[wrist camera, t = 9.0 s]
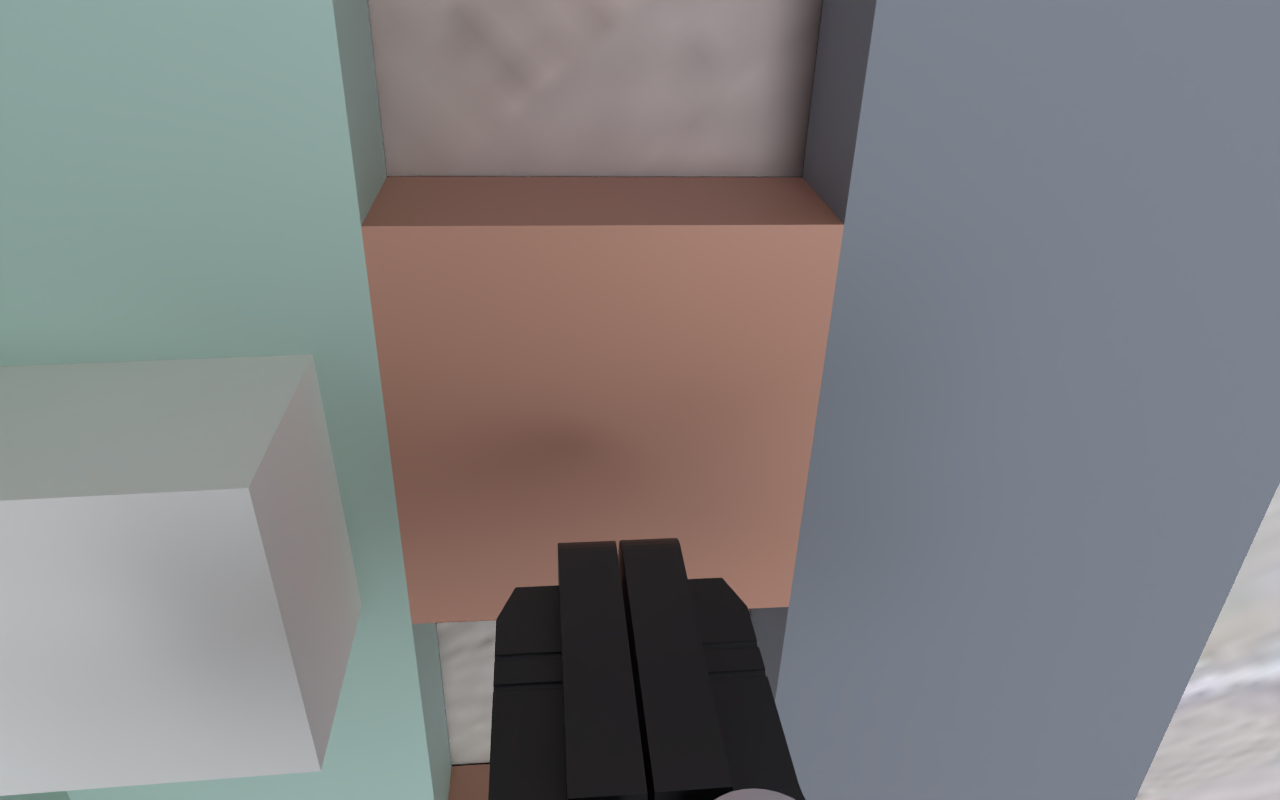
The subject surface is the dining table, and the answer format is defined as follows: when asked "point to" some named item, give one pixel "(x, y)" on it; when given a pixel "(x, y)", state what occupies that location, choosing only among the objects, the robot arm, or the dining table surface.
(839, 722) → the board
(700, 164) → the dining table surface
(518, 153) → the dining table surface
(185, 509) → the block
